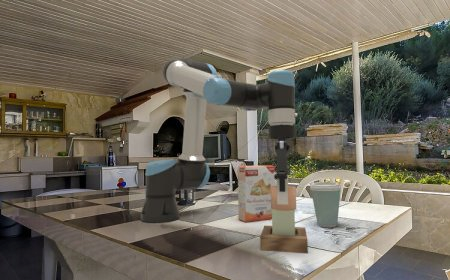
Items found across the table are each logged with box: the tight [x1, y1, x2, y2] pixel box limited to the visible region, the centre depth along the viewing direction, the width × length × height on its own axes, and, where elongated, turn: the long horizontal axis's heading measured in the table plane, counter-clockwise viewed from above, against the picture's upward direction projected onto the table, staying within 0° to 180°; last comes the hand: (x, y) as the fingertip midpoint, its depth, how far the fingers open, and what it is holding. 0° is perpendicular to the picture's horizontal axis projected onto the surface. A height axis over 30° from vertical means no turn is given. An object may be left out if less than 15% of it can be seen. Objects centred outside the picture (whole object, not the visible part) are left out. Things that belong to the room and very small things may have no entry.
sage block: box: [271, 209, 296, 236], centre depth 81 cm, size 6×6×8 cm
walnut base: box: [259, 225, 309, 254], centre depth 80 cm, size 12×12×4 cm
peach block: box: [271, 185, 297, 211], centre depth 81 cm, size 7×7×6 cm
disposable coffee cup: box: [309, 181, 342, 228], centre depth 102 cm, size 11×11×15 cm
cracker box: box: [237, 165, 276, 223], centre depth 112 cm, size 14×6×21 cm, turn 117°
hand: (283, 200), depth 81 cm, fingers open, 13 cm apart
